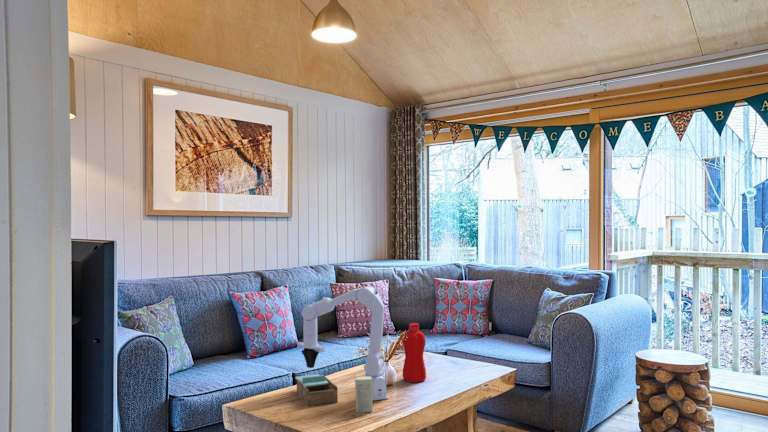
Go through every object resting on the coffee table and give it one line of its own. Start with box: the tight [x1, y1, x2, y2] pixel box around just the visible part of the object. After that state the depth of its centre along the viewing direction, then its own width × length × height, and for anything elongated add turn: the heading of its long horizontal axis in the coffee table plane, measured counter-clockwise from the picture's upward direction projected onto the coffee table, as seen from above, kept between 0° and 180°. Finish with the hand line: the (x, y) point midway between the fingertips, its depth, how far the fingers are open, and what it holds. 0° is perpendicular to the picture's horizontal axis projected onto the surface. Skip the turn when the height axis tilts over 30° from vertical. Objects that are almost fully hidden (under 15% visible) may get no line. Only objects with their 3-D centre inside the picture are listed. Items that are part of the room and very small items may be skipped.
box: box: [296, 376, 338, 407], centre depth 230 cm, size 16×12×6 cm
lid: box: [295, 373, 329, 387], centre depth 236 cm, size 14×10×3 cm
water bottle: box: [401, 322, 427, 383], centre depth 254 cm, size 9×11×25 cm
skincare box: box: [354, 376, 374, 413], centre depth 215 cm, size 6×4×12 cm
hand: (310, 367), depth 237 cm, fingers closed
